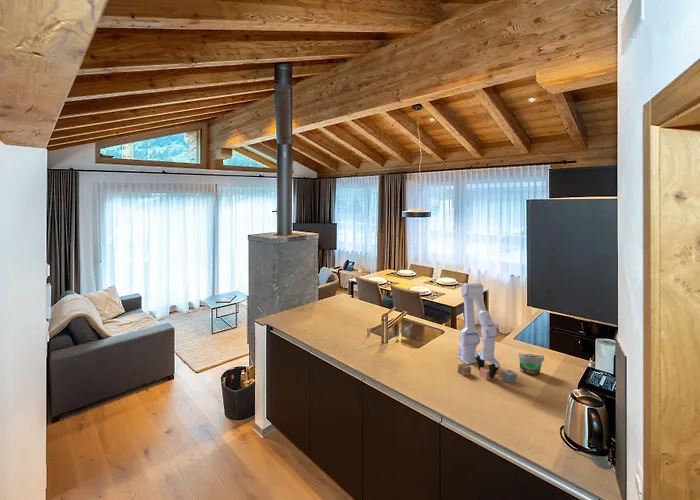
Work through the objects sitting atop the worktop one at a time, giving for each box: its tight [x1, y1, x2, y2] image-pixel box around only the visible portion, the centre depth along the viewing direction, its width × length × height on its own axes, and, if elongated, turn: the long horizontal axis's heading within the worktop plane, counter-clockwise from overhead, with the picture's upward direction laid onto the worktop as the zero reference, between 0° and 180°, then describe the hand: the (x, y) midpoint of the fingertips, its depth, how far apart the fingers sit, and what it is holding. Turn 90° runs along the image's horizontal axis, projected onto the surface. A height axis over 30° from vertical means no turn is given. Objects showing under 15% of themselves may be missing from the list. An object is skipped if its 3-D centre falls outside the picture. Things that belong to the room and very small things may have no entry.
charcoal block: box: [501, 369, 518, 385], centre depth 174 cm, size 4×4×4 cm
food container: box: [517, 352, 545, 377], centre depth 180 cm, size 12×6×10 cm, turn 81°
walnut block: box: [457, 362, 472, 377], centre depth 181 cm, size 4×4×4 cm
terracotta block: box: [479, 366, 494, 381], centre depth 178 cm, size 4×4×4 cm
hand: (486, 374), depth 178 cm, fingers open, 7 cm apart
